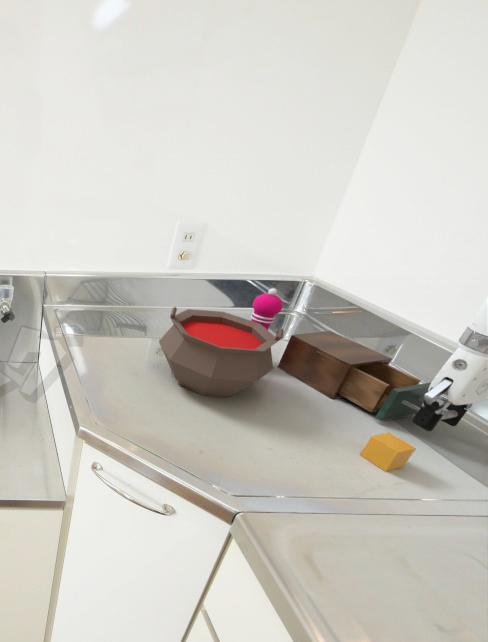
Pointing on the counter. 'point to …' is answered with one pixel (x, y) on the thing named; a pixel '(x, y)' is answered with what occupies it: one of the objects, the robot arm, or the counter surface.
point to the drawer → (386, 391)
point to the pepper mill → (266, 308)
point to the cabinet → (326, 360)
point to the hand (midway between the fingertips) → (433, 423)
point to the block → (387, 451)
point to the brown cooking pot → (217, 351)
